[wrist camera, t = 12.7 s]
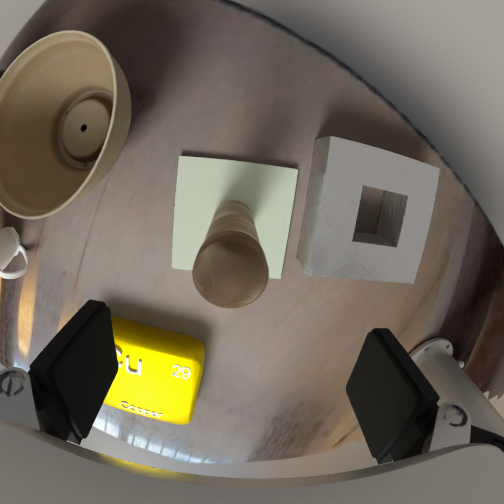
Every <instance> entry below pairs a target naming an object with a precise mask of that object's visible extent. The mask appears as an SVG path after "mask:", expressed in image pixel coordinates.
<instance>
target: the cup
mask: <svg viewBox="0 0 504 504" xmlns="http://www.w3.org/2000/svg"><path fill="white" fill-rule="evenodd" d="M19 251H21V252H22V254H23V255H24V257H25V260H26V263H27V265H26V266H25V268H23V269H21V270H18V271H16V272H5V271H3V269H4V268H5V267H6V266H7V265H8V264H9V262H10V261H11V260H12V259H13V257H14V256H16V255H17V254H18V252H19ZM28 270H29V257H28V254H27V251H26V250H25V248H24V247H23V246H22V245H21V244H20V237H19V234H18V233H17V232H16V230H15V229H14V227H5V229H0V277H2V278H5V279H15V278H17V277H20V276H22V275H24V274H26V272H27V271H28Z"/></svg>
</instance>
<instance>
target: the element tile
mask: <svg viewBox="0 0 504 504" xmlns="http://www.w3.org/2000/svg"><path fill="white" fill-rule="evenodd" d="M111 320H112V328H113V334H114V341H115V347H116V353H117V358H118V364H119V369H118V373H117V375H116V377H115V379H114V381H113V383H112V385H111V387H110V389H109V391H108V393H107V396H106V398H105V400H104V402H103V403H105V404H107V405H109V406H112V407H115V408H118V409H121V410H124V411H127V412H131V413H134V414H138V415H141V416H145V417H149V418H152V419H156V420H160V421H164V422H169V423H173V424H179V425H185V424H188V423H189V422H191V420H192V417H193V413H194V408H195V404H196V399H197V395H198V390H199V386H200V382H201V377H202V373H203V368H204V360H205V347H204V344H203V343H202V342H201V341H200V340H198V339H197V338H194V337H191V336H187V335H183V334H179V333H174V332H170V331H166V330H163V329H159V328H155V327H151V326H147V325H144V324H140V323H137V322H133V321H130V320H126V319H123V318H119V317H116V316H112V315H111Z"/></svg>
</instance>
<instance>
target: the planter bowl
mask: <svg viewBox="0 0 504 504" xmlns="http://www.w3.org/2000/svg"><path fill="white" fill-rule="evenodd" d="M130 122H131V96H130V91H129V87H128V83H127V80H126V78H125V76H124V73H123V71H122V69H121V68H120V66H119V64H118V63H117V61H116V60H115V59H114V58H113V57H112V55H111V53H110V51H109V50H108V49H107V47H106V46H105V45H104V44H103V43H102V42H101V41H100V40H99V39H97V38H96V37H94V36H93V35H91V34H88V33H86V32H82V31H75V30H68V31H60V32H56V33H53V34H50V35H48V36H46V37H43V38H42V39H40V40H38V41H37V42H35V43H33V44H32V45H31V46H29V47H28V48H27V49H25V50H24V51H23V52H22V53H21V54H20V55H19V56H18V57H17V58H16V59H15V60H14V61H13V62H12V64H11V65H10V66H9V67H8V69H7V70H6V71H5V73H4V74H3V76H2V77H1V79H0V205H1V206H2V207H3V208H4V209H5V210H6V211H8V212H9V213H11V214H13V215H15V216H17V217H20V218H24V219H39V218H43V217H47V216H50V215H52V214H54V213H56V212H58V211H60V210H62V209H63V208H65V207H66V206H68V205H69V204H71V203H73V202H74V201H76V200H78V199H79V198H81V197H82V196H84V195H85V194H87V193H88V192H89V191H91V190H92V189H93V188H94V187H95V186H96V185H97V184H98V183H99V182H100V181H101V180H102V179H103V178H104V177H105V176H106V175H107V174H108V172H109V171H110V170H111V168H112V167H113V165H114V164H115V162H116V161H117V159H118V157H119V155H120V154H121V151H122V149H123V147H124V145H125V142H126V139H127V136H128V132H129V128H130ZM83 125H86V126H87V129H86V130H85V131H82V130H81V129H82V126H83Z"/></svg>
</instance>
